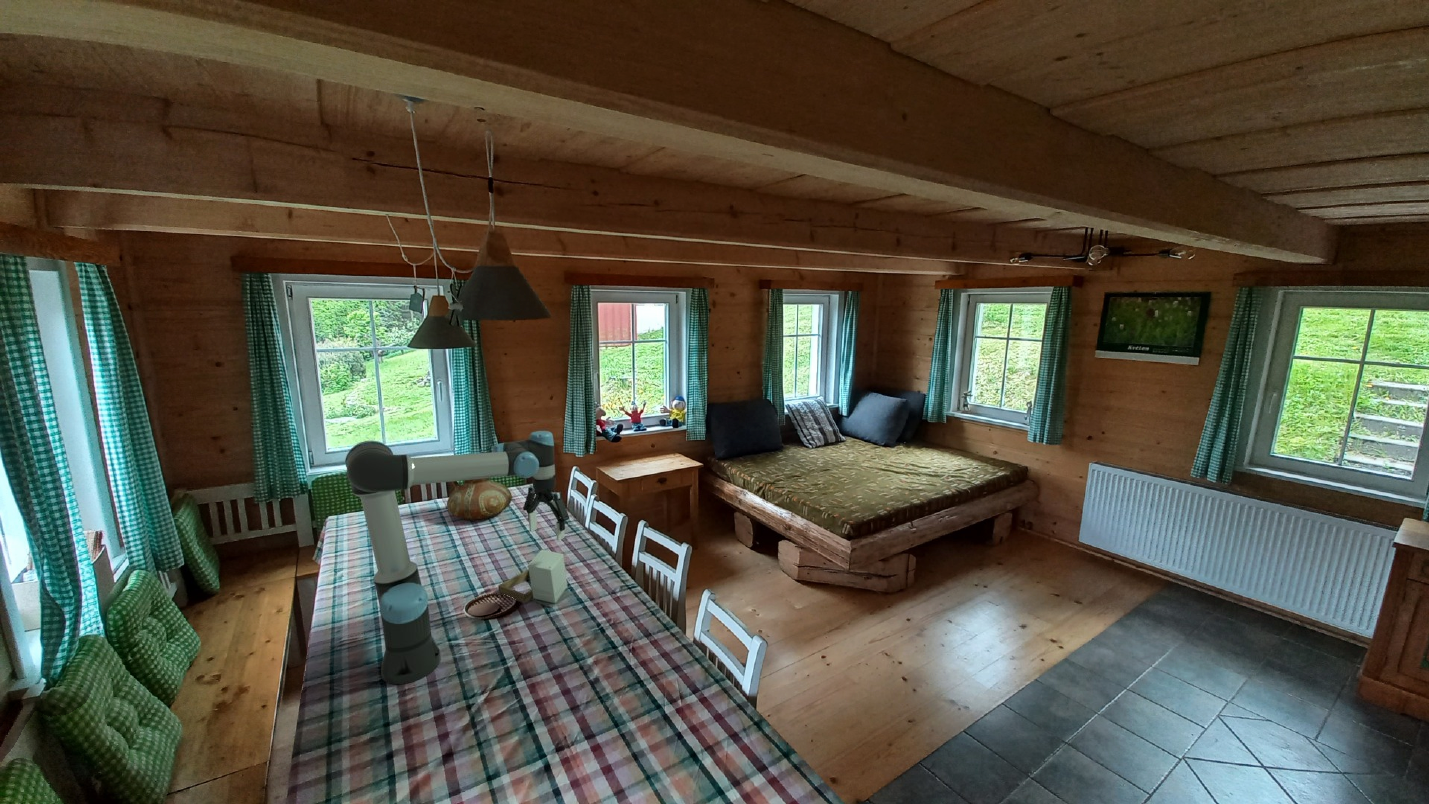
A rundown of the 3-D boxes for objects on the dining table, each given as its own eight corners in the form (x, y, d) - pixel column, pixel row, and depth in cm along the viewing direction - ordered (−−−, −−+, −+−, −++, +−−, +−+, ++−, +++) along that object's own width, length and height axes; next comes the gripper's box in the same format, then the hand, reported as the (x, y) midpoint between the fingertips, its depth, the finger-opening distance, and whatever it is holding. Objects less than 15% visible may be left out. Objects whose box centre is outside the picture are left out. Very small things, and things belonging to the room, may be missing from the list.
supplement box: (568, 586, 196) (564, 553, 189) (555, 604, 188) (550, 570, 182) (546, 580, 198) (541, 548, 192) (532, 598, 190) (527, 565, 184)
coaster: (550, 607, 186) (550, 606, 186) (531, 599, 191) (530, 598, 191) (572, 594, 195) (572, 593, 195) (552, 587, 200) (552, 585, 200)
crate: (524, 603, 189) (523, 595, 189) (498, 593, 196) (498, 585, 195) (553, 586, 201) (553, 578, 200) (528, 576, 208) (528, 569, 207)
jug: (502, 498, 290) (498, 453, 286) (523, 514, 267) (519, 466, 263) (442, 512, 272) (437, 464, 267) (458, 531, 249) (453, 479, 244)
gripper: (578, 479, 182) (580, 538, 185) (527, 467, 194) (530, 523, 198) (561, 485, 175) (564, 546, 179) (510, 473, 188) (514, 530, 192)
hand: (546, 534), depth 188 cm, fingers open, 13 cm apart
